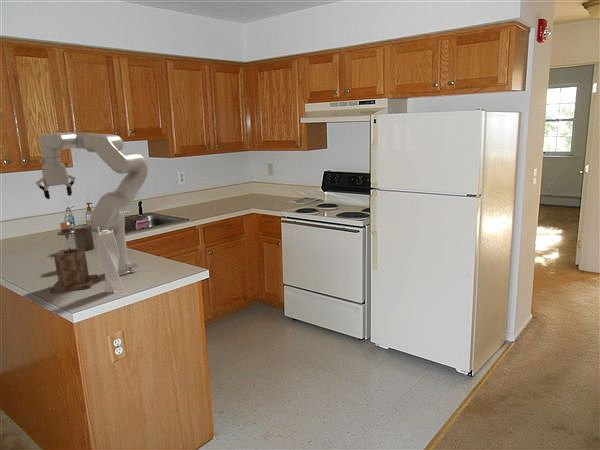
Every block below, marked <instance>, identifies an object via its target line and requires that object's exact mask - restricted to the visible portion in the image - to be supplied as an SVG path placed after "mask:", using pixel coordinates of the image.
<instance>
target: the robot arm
mask: <svg viewBox="0 0 600 450" xmlns="http://www.w3.org/2000/svg"><path fill="white" fill-rule="evenodd" d="M38 143H39V146H40V152H41V157H42V158H41V159H39V163H41V164H42V166H41V170H42V171H41V172H42V173H41V174H42V178H40V179H38V180H37V181H35V184H36V186H37V188H39V189H40V190H42V191H43V194H44V198H46V199H47V200H50V199H51V197H50V196H51V195H50V191H49V190H48V189H49V188H50V187H56V186H63V185H64V186H66V188H65V189H66V194H67V196H69V197H70V196H72V193H73V191H72V186H73V185H74V184H75V180H76V177H75V176H72V175H69V174H68V171H67V168H66V166H65V163H64V162H62V158H61V152H60V151H61V150H68V149H80V150H81V149H83V150H86V151H87V152H89V153H96V154H97V156H98V157H99V158H100V159H101V160H102V161H103V162H104V163H105V164H106V165H107V166H108V167H109V168H110V169H111V170H112V171H113V172H115V173H116V174H121V175H123V174H126V175H125V176H124V177H123V179H122V180H121V181H120V184H119V185H118V187H117V188H116V189H115V190H113V191H110V192H107V193H105V194H103V195H102V196H101V197H100V198H99V200H98V201H97V203H96V205H95V207H94V209H93V210H92V212H91V214H90V217H89V222H88V223H89V224H88V225H90V227H91V230H92V231H94V232H97V233H98V227H99V232H102V230H109V231H112V230H111V229H113V233H114V236H115V239H116V243H117V247H118V252H119V265H118V274H119V277H120V276H124V275H128V274H131V273H132V272H133V271H134V268H139V267H140V266H139V263H137V262H131V260H129V256H128V249H127V240H126V233H125V232H126V231H125V227H126V225H125V224H126V218H125V213H124V211H125V210H128V209H129V208H130V207H131V206H132V203H133V202H134V200H135V198H136V197H137V196H138V194H139V191H140V190H141V188H142V186H143V185H144V183H145V181H146V179H147V177H148V174H149V173H148V172H149V166H148V165H149V164H148V161H147V160H146V158H145V157H144V156H143V155H142V154H141V153H137V152H126V153H121V151H122V150H123V148H124V144H125V143H124V140H123V139H122V138H121V137H120V136H119V135H117V134H112V133H94V132H93V133H92V132H74V131H71V132H56V133H50V134H49V133H48V134H46V133H45V134H40V135H39V136H38ZM41 183H43V184H44V186H43V185H42V184H41Z"/></svg>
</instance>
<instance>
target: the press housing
mask: <svg viewBox="0 0 600 450" xmlns="http://www.w3.org/2000/svg"><path fill="white" fill-rule="evenodd" d="M71 252H72V253H68V250H67V248H66V249H60V250H59V251H58V252H57V253H56V254H54V255H53V258H54V259H53V260H54V264H55V270H56V276H57V281H56V283H54V285H53V286H52V287H51V288H50V289H49V291H50V293H58V292H60V293H61V292H67V291H70V292H71V291H77V290H86V289H87V290H88V289H91V288H92V286H93V285H94V283H95V282H96V280H97V279H98V278H99V277H98V274H96V273H95V274H89V268H88V261H87V255H86V251H85V248H76V247H75V248H71Z"/></svg>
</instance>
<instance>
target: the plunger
mask: <svg viewBox="0 0 600 450" xmlns="http://www.w3.org/2000/svg"><path fill="white" fill-rule="evenodd" d="M59 225H60V229H61V230H59V231H58V232H57V236H65V242H66V243H65V244H66V249H67V250H68V253H72V252H71V249H72V248H71V242H70V237H69V235H74V233H75V230H73V229H71V224H70V221H62V222H60V223H59Z"/></svg>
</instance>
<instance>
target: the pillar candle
mask: <svg viewBox="0 0 600 450" xmlns="http://www.w3.org/2000/svg"><path fill="white" fill-rule="evenodd" d="M72 230H75V233H73V238H74V245H75V248H85V252H86V251H91V250H93V249H95V244H94V236H93V229H92V228H91V227H90V224H81V225H77V226H74V227H72Z"/></svg>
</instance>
